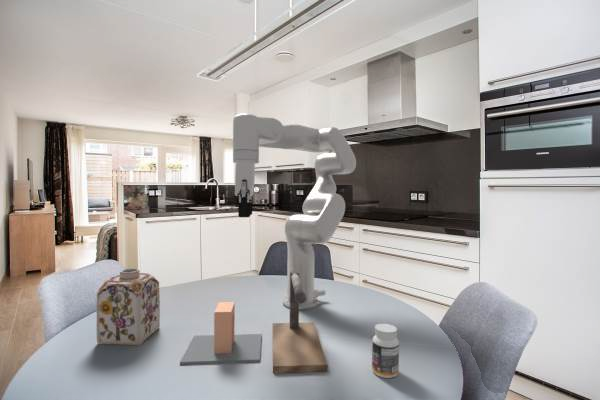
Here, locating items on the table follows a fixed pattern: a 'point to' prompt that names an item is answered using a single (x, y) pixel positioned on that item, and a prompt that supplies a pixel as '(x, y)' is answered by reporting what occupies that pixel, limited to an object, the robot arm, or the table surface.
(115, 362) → the table surface
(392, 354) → the pill bottle
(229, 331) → the link
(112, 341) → the decorative jar
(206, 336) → the mat
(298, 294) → the stand
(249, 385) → the table surface
